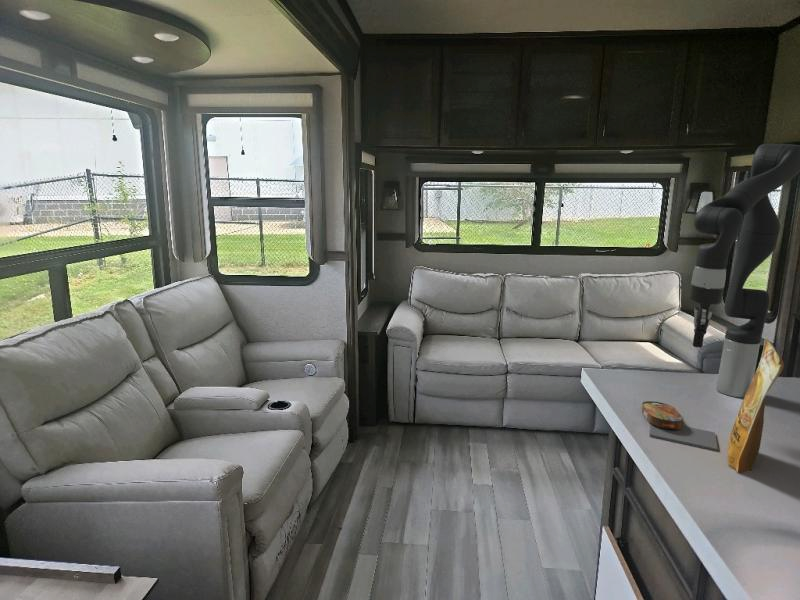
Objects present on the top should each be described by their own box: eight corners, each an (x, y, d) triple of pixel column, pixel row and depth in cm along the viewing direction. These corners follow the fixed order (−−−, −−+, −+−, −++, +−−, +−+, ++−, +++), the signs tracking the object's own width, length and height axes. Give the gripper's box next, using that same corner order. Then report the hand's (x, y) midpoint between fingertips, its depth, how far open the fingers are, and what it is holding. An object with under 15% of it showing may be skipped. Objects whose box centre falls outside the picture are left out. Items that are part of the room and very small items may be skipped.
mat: (650, 421, 140) (650, 419, 140) (714, 434, 134) (714, 432, 134) (649, 436, 132) (649, 434, 132) (717, 451, 125) (717, 449, 125)
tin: (688, 422, 132) (653, 416, 134) (685, 434, 133) (650, 427, 134) (671, 403, 147) (639, 397, 148) (668, 413, 147) (637, 407, 149)
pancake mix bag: (760, 447, 128) (781, 339, 121) (760, 482, 112) (785, 360, 106) (728, 439, 131) (747, 334, 125) (724, 472, 116) (746, 353, 110)
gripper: (691, 278, 143) (681, 337, 147) (691, 287, 131) (681, 351, 136) (722, 281, 139) (711, 342, 143) (726, 290, 128) (714, 356, 132)
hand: (697, 346), depth 139 cm, fingers closed
